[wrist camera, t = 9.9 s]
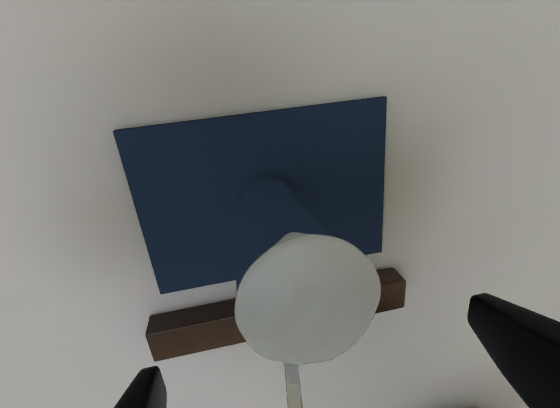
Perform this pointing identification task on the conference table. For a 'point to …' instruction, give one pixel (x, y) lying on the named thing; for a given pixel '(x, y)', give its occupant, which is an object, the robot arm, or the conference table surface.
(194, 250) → the mat
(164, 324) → the bar
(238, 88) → the conference table surface
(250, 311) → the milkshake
